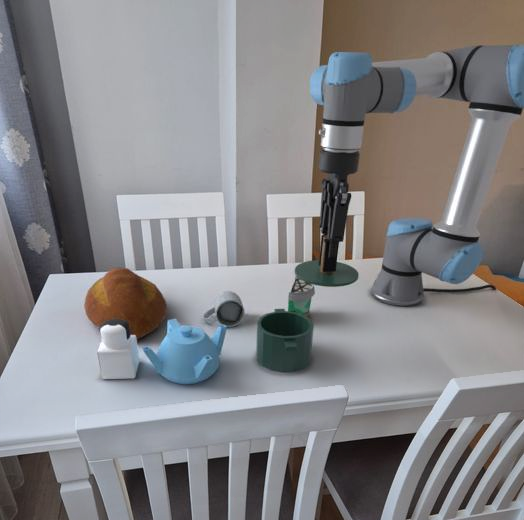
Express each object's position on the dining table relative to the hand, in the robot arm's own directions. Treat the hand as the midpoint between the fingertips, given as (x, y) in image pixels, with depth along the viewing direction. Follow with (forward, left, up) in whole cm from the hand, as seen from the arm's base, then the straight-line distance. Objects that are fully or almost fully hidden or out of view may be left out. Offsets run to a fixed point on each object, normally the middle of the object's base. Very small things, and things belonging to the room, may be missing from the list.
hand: (326, 267), depth 101 cm
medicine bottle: (+45, +2, -23) cm, 51 cm away
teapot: (+30, +3, -23) cm, 38 cm away
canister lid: (0, 0, -1) cm, 1 cm away
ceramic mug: (+21, -20, -23) cm, 37 cm away
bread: (+47, -25, -23) cm, 58 cm away
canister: (+8, 0, -23) cm, 24 cm away
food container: (0, -20, -23) cm, 31 cm away
